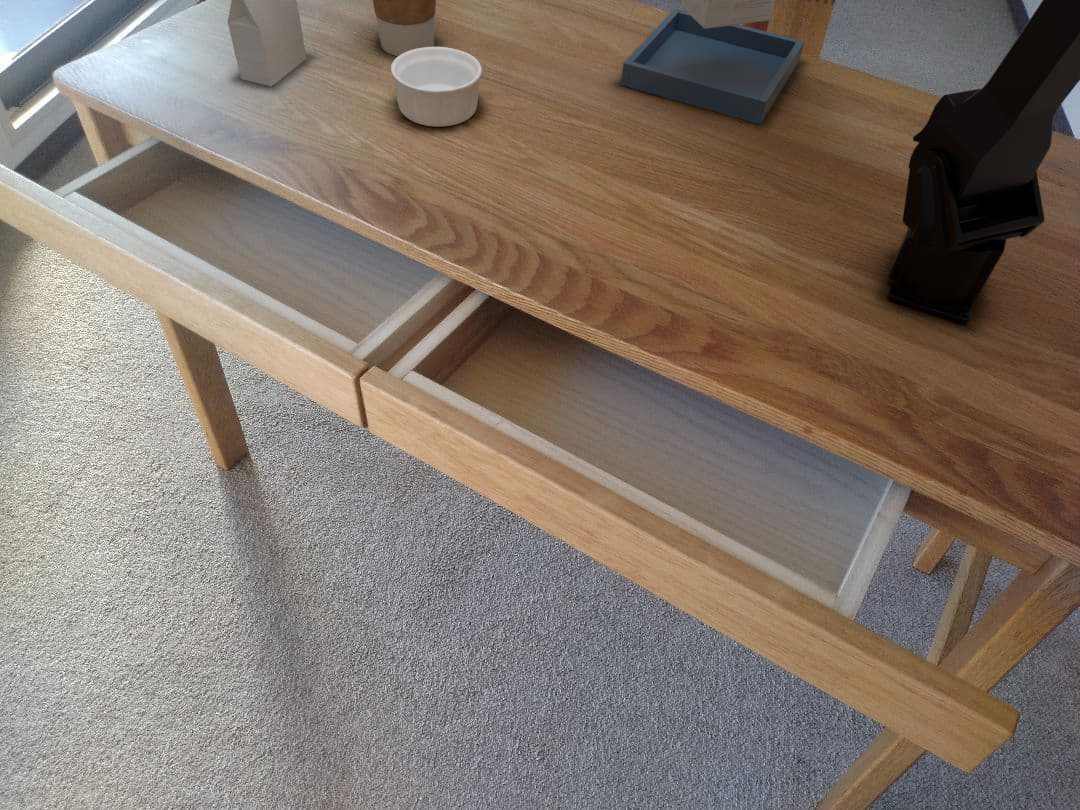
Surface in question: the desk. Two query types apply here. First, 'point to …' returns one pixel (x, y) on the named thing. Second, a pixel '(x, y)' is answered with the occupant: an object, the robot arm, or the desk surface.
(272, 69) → the grey carton
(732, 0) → the small box
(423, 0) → the coffee cup
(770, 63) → the tray
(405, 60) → the ramekin
